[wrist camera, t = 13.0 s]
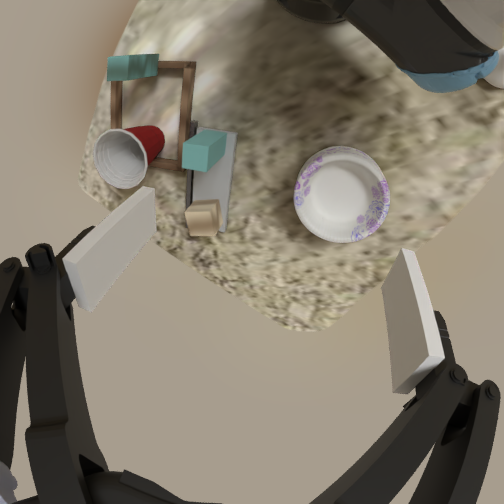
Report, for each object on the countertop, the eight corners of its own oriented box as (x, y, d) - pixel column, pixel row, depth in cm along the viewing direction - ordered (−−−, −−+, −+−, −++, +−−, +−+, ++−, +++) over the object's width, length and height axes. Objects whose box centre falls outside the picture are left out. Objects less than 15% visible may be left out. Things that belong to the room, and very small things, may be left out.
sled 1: (118, 56, 42) (79, 60, 33) (197, 54, 40) (166, 53, 32) (117, 157, 55) (84, 178, 46) (187, 168, 54) (160, 192, 45)
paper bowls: (297, 138, 46) (292, 151, 40) (386, 145, 43) (397, 159, 37) (296, 218, 55) (292, 241, 49) (376, 224, 52) (382, 248, 46)
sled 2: (199, 126, 48) (173, 141, 40) (237, 132, 48) (218, 148, 40) (193, 221, 60) (173, 249, 52) (226, 229, 60) (209, 259, 52)
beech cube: (194, 200, 56) (184, 212, 52) (218, 199, 55) (210, 211, 51) (199, 222, 59) (190, 235, 55) (223, 222, 58) (215, 236, 54)
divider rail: (193, 120, 48) (190, 122, 47) (197, 120, 48) (194, 122, 47) (188, 223, 61) (185, 227, 60) (192, 224, 61) (189, 228, 60)
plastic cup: (161, 175, 56) (129, 202, 47) (122, 146, 54) (85, 167, 44) (188, 133, 50) (155, 153, 40) (144, 102, 47) (105, 116, 38)
